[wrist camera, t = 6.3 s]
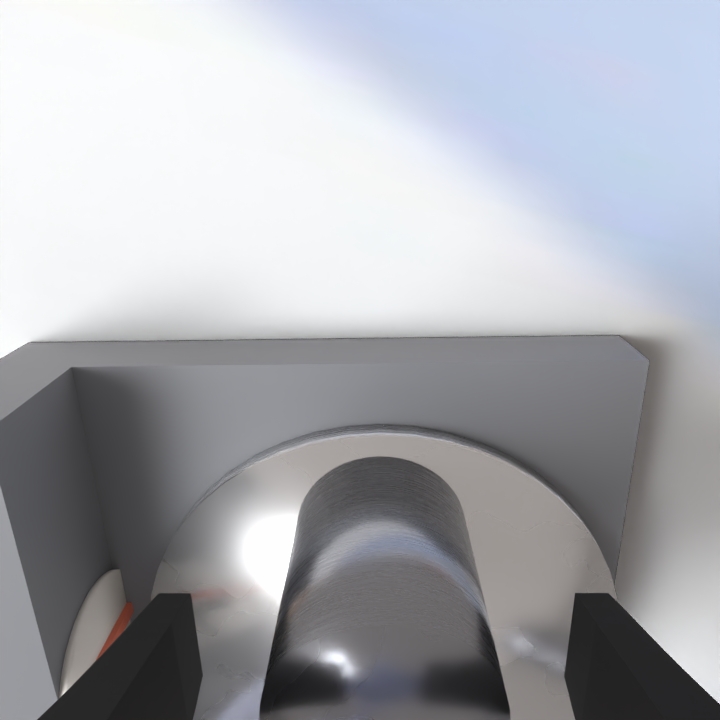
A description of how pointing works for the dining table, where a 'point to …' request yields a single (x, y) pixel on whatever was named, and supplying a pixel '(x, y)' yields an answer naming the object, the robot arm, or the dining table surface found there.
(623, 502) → the scale
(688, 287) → the dining table surface
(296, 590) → the cylinder
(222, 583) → the pan
